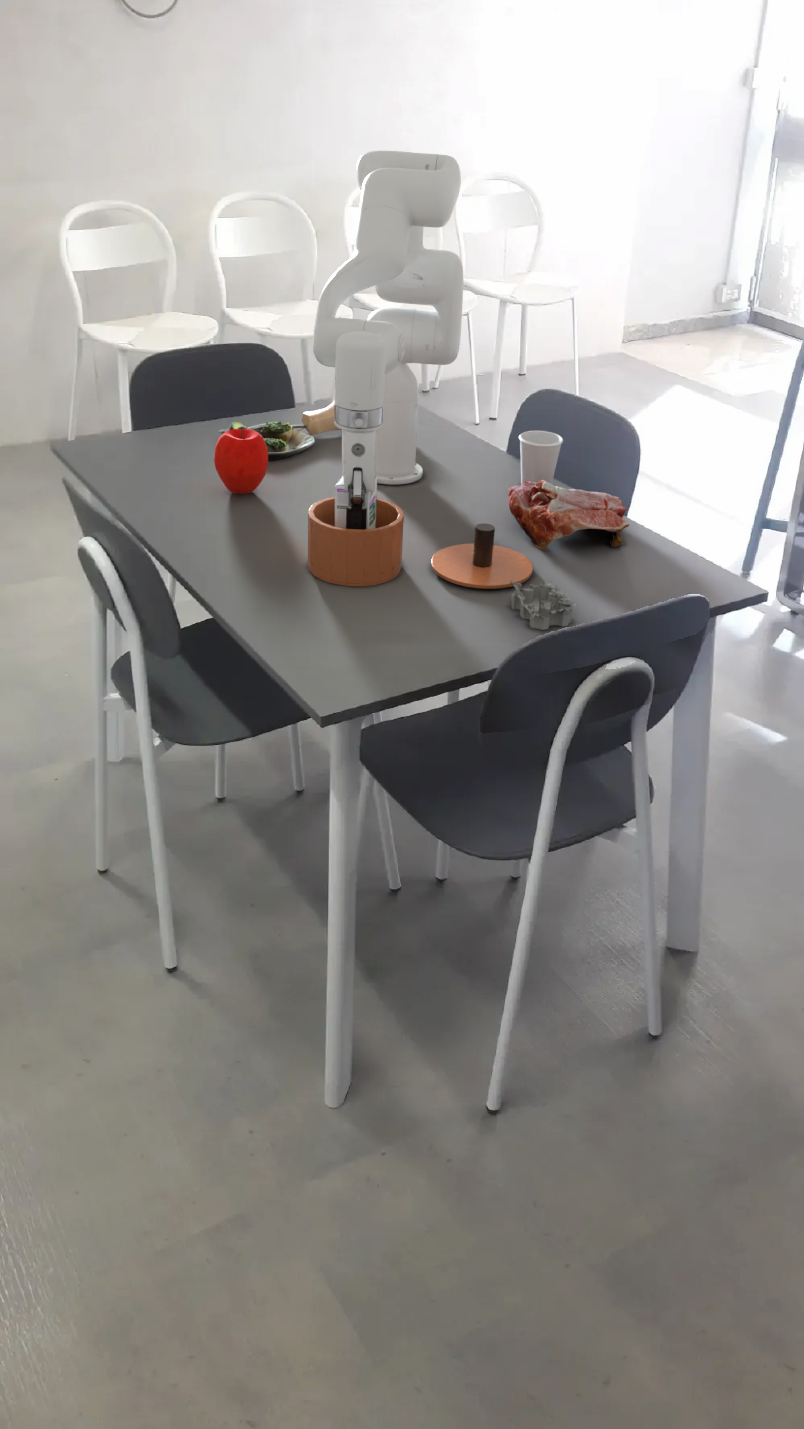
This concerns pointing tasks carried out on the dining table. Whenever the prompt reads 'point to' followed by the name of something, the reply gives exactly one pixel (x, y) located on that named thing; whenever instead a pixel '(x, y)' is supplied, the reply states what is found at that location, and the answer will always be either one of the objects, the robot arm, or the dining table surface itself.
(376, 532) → the pot
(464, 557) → the lid
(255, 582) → the dining table surface
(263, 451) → the apple
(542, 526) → the meat
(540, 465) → the dixie cup
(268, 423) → the salad plate
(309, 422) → the squash
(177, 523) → the dining table surface
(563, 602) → the egg carton
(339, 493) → the syrup box
